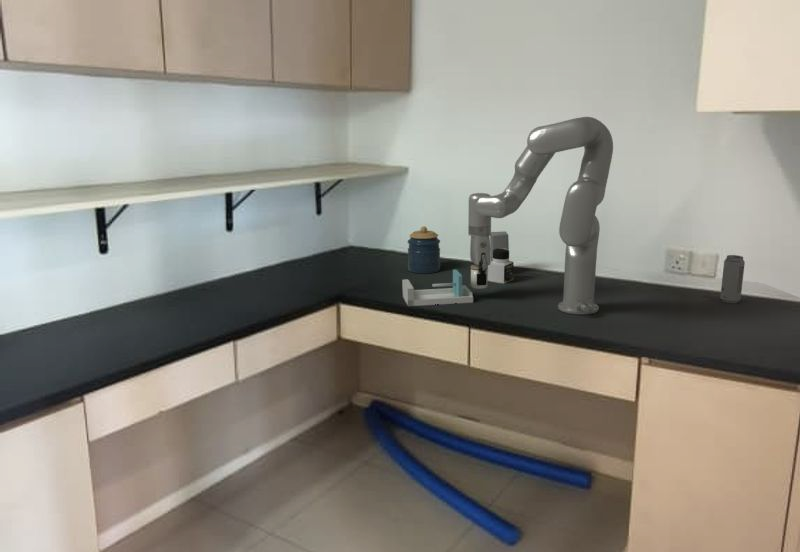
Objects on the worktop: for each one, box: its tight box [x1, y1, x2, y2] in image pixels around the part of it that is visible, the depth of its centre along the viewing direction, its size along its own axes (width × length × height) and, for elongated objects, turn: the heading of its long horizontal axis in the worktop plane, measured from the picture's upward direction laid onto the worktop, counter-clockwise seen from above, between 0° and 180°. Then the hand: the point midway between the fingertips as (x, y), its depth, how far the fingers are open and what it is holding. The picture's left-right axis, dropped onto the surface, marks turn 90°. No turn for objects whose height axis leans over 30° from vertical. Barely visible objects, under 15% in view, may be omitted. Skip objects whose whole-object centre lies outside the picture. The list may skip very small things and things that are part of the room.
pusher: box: [431, 269, 463, 297], centre depth 233 cm, size 9×9×8 cm
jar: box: [470, 263, 488, 290], centre depth 234 cm, size 6×6×7 cm
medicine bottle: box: [487, 248, 514, 284], centre depth 255 cm, size 7×7×12 cm
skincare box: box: [489, 230, 510, 261], centre depth 267 cm, size 8×7×16 cm
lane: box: [402, 278, 474, 307], centre depth 233 cm, size 12×22×6 cm, turn 98°
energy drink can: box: [719, 254, 745, 304], centre depth 224 cm, size 6×6×15 cm
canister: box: [407, 225, 441, 274], centre depth 272 cm, size 13×13×18 cm
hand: (479, 282), depth 234 cm, fingers closed on jar, 5 cm apart
